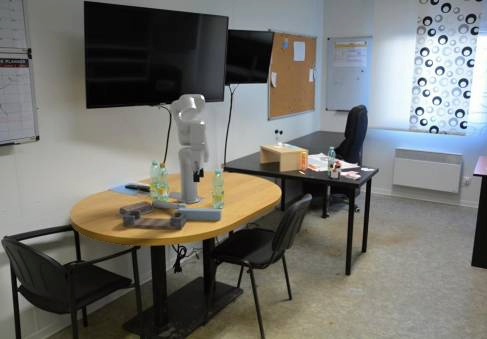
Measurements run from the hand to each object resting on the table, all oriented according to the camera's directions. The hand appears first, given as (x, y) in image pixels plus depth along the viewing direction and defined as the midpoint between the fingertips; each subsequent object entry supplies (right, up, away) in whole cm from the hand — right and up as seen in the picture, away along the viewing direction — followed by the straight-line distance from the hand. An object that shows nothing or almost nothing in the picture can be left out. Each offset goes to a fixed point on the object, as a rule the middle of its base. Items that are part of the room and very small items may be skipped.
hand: (198, 179), depth 216 cm
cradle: (-21, -22, -4) cm, 31 cm away
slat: (0, -20, +5) cm, 21 cm away
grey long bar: (-17, -18, +16) cm, 29 cm away
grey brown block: (-35, -19, +13) cm, 42 cm away
